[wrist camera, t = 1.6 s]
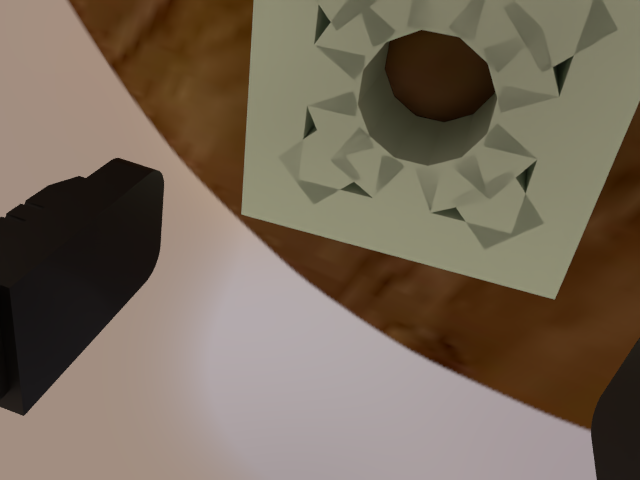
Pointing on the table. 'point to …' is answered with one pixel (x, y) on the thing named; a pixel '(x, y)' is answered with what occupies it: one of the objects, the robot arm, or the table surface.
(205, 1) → the table surface
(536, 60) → the pale green flat block
